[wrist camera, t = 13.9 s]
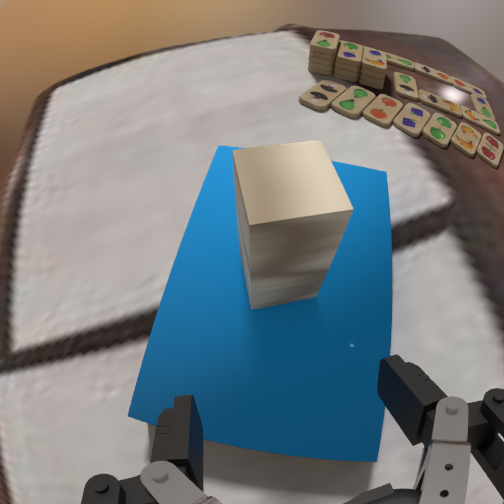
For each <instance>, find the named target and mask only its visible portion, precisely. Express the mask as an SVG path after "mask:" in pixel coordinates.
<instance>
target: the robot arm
mask: <svg viewBox="0 0 504 504" xmlns="http://www.w3.org/2000/svg"><path fill="white" fill-rule="evenodd" d="M377 390H378V394H379V397H380V399H381V400H382V402H383V403H384V405H385V406H386V408H387V409H388V410H389V412H390V413H391V415H392V416H393V418H394V419H395V421H396V422H397V423H398V425H399V426H400V428H401V429H402V431H403V432H404V434H405V435H406V437H407V438H408V439H409V441H410V442H411V444H412V445H413V446H414V445H416V444H419V443H421V442H422V443H423V444H424V448H423V451H422V456H421V460H420V465H419V469H418V473H417V477H416V481H415V484H414V487H413V489H393V488H392V486H391V484H390V483H389V484H386V485H383V486H381V487H378V488H375V489H372V490H369V491H366V492H364V493H362V494H360V495H358V496H357V497H355V498H353V499H351V500H349V501H348V502H346V503H344V504H464V503H465V497H466V490H467V483H468V474H469V464H470V453H472V455H473V456H474V458H475V459H476V460H477V462H478V463H479V465H480V466H481V467H482V469H483V470H484V472H485V473H486V475H487V476H488V477H489V479H490V480H491V482H492V483H493V485H494V486H495V488H496V489H497V491H498V492H499V494H500V495H501V497H502V498H503V500H504V442H503V440H502V439H501V438H500V437H499V436H498V433H500V434H501V435H502V437H503V438H504V390H503V389H499V388H496V389H491V390H489V391H487V392H486V393H485V395H484V398H483V400H482V401H477V402H472V403H466V402H465V401H464V400H463V399H461V398H458V397H448V396H447V395H446V394H445V393H444V392H443V391H442V390H441V389H440V388H439V387H438V386H437V385H436V384H435V383H434V382H433V381H432V380H430V378H429V376H428V375H427V374H425V372H424V371H423V370H422V369H421V368H420V367H419V366H417V365H415V364H413V363H411V362H407V363H405V362H404V361H403V359H402V358H401V357H400V356H399V355H393V356H389V357H386V358H383V359H381V360H380V364H379V374H378V383H377ZM155 435H156V436H155V438H154V444H153V450H152V457H151V462H150V464H149V465H147V466H146V467H145V468H144V469H143V470H142V472H141V474H140V475H138V476H136V477H133V478H128V479H124V480H120V481H118V480H117V479H116V478H115V477H114V476H112V475H109V474H98V475H95V476H93V477H92V478H90V479H89V480H88V481H87V483H86V485H85V488H84V492H83V497H82V501H81V504H222V503H221V502H220V501H219V500H217V499H216V498H215V497H213V496H210V497H208V496H207V495H206V494H204V493H203V427H202V422H201V418H200V415H199V412H198V409H197V405H196V402H195V398H194V396H193V395H182V396H175V398H174V405H173V408H169V409H164V410H163V411H162V413H161V414H160V415H159V417H158V421H157V428H156V432H155ZM503 504H504V501H503Z"/></svg>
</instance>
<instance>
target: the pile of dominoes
mask: <svg viewBox="0 0 504 504" xmlns="http://www.w3.org/2000/svg"><path fill="white" fill-rule="evenodd" d="M387 63H389V64H392V65H395V66H398V67H401V68H404V69H407V70H410V71H415V72H417V73H420V74H422V75H425V76H428V77H430V78H433V79H436V80H438V81H441V82H443V83H446V84H448V85H452V86H454V87H455V88H457V89H460V90H462V91H464V92H466V93H469V94H471V95H470V96H471V99H472V101H473V104H474V106H475V109H476V112H475V111H473V110H471V109H469V108H467V107H464V106H461V107H459V106H458V105H457V104H456V103H453V102H451V101H449V100H446V99H444V98H441V97H439V96H436V95H434V94H431V93H429V92H426V91H423V90H419V91H417V86H416V82H415V79H414V78H413V77H411V76H408V75H405V74H402V73H398V72H395V73H394V75H393V78H394V87H395V93H396V94H397V95H399V96H401V97H404V98H408V99H411V100H414V101H420V102H421V103H423V104H425V105H428V106H430V107H433V108H436V109H438V110H441V111H443V112H446V113H448V114H451V115H453V116H455V117H458V118H463V119H465V120H466V121H468V122H471V123H473V124H475V125H477V126H480V127H482V128H484V129H486V130H488V131H490V132H492V133H494V134H496V135H500V130H499V127H498V124H497V123H496V122H495V117H494V115H493V112H492V110H491V108H490V105H489V103H488V101H487V100H486V99H487V97H486V95H485V93H484V92H483V91H482V90H481V89H479V88H477V87H475V86H473V85H470V84H468V83H466V82H464V81H461V80H459V79H457V78H454V77H450V76H449V75H447V74H445V73H442V72H440V71H437V70H435V69H432V68H429V67H427V66H424V65H422V64H419V63H413V62H412V61H410V60H407V59H404V58H401V57H398V56H395V55H392V54H389V53H386V52H383V51H380V50H376V49H373V48H369V47H365V46H361V45H359V44H355V43H351V42H347V41H340V36H339V35H338V34H336V33H331V32H327V31H317V32H316V34H315V36H314V37H313V39H312V41H311V43H310V55H309V63H308V64H309V66H308V71H310V72H313V73H317V74H322V75H327V76H331V75H333V76H334V77H336V78H340V79H344V80H348V81H352V82H357V81H358V82H359V83H360V84H362V85H366V86H369V87H373V88H377V89H383V84H384V78H385V73H386V71H387ZM299 102H300V103H301V104H303V105H306V106H308V107H311V108H313V109H315V110H317V111H325V110H326V109H327V108H329V107H331V108H332V109H333V110H335V111H337V112H339V113H341V114H343V115H345V116H348V117H350V118H358V117H359V116H360V115H362V116H363V117H364V118H366V119H368V120H370V121H372V122H374V123H376V124H378V125H380V126H382V127H389V126H390V125H391V124H393V125H394V126H395V127H397V128H398V129H400V130H402V131H403V132H405V133H407V134H409V135H410V136H412V137H418V136H419V135H420V134H421V133H422V135H423V136H424V137H426V138H427V139H429V140H430V141H432V142H434V143H435V144H437V145H438V146H440V147H442V148H446V147H447V145H448V144H449V142H450V143H451V144H452V145H453V146H454V147H456V148H457V149H458V150H460V151H461V152H463V153H464V154H465V155H467V156H469V157H473V156H474V154H475V153H477V155H478V156H479V157H480V158H482V159H483V160H484V161H486V162H487V163H488V164H489V165H491V166H492V167H494V168H497V167H498V165H499V162H500V159H501V156H502V152H503V149H504V147H503V145H502V144H501V143H500V142H499V141H498V140H497V139H495V138H494V137H493V136H491V135H490V134H488V133H484V135H483V137H481V134H480V133H479V132H478V131H476V130H475V129H473V128H472V127H471V126H469V125H468V124H466V123H463V122H462V123H461V124H460V125H459V127H458V128H457V126H456V124H455V123H454V122H453V121H451V120H450V119H448V118H447V117H445V116H443V115H442V114H440V113H435V114H434V115H433V116H432V117H431V115H430V113H428V112H427V111H425V110H424V109H422V108H420V107H418V106H417V105H415V104H412V103H408V104H407V105H406V106H405V107H404V108H403V104H402V103H401V102H400V101H398V100H396V99H394V98H392V97H390V96H388V95H385V94H380V95H379V96H378V97H376V96H375V94H374V93H372V92H370V91H368V90H366V89H364V88H361V87H359V86H351V87H350V88H349V89H348V90H346V87H345V86H343V85H341V84H339V83H336V82H334V81H331V80H328V79H324V80H322V81H320V82H319V83H317V84H316V85H314V86H313V87H311V88H310V89H309V90H307V91H306V92H304V93H303V94H301V95H300V96H299Z"/></svg>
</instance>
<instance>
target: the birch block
mask: <svg viewBox="0 0 504 504" xmlns="http://www.w3.org/2000/svg"><path fill="white" fill-rule="evenodd" d="M232 154H233V169H234V183H235V197H236V210H237V224H238V237H239V250H240V256H241V261H242V266H243V271H244V276H245V281H246V286H247V291H248V295H249V300H250V305H251V310H253V309H258V308H263V307H269V306H274V305H279V304H284V303H289V302H294V301H299V300H304V299H309V298H314V297H317V295H318V292H319V290H320V288H321V286H322V283H323V281H324V279H325V277H326V274H327V272H328V270H329V267H330V265H331V263H332V260H333V258H334V256H335V253H336V251H337V249H338V246H339V244H340V241H341V239H342V237H343V234H344V232H345V229H346V227H347V224H348V222H349V219H350V217H351V214H352V212H353V207H352V205H351V203H350V200H349V198H348V196H347V194H346V191H345V189H344V187H343V185H342V183H341V181H340V179H339V177H338V174H337V172H336V170H335V168H334V166H333V164H332V162H331V160H330V158H329V156H328V154H327V152H326V150H325V148H324V146H323V144H322V142H321V140H318V141H306V142H296V143H286V144H277V145H268V146H260V147H252V148H244V149H237V150H232Z"/></svg>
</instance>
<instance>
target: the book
mask: <svg viewBox="0 0 504 504" xmlns="http://www.w3.org/2000/svg"><path fill="white" fill-rule="evenodd" d="M237 149H244V148H238V147H228V146H218V148H217V151H216V153H215V156H214V158H213V161H212V163H211V165H210V168H209V170H208V173H207V175H206V178H205V180H204V183H203V186H202V188H201V191H200V193H199V196H198V198H197V201H196V204H195V206H194V209H193V212H192V214H191V217H190V220H189V222H188V225H187V228H186V230H185V233H184V236H183V239H182V241H181V244H180V247H179V250H178V253H177V255H176V258H175V261H174V264H173V267H172V270H171V273H170V276H169V279H168V282H167V285H166V288H165V291H164V294H163V297H162V300H161V303H160V306H159V309H158V312H157V315H156V318H155V322H154V325H153V328H152V331H151V335H150V338H149V341H148V345H147V348H146V351H145V355H144V358H143V361H142V365H141V368H140V372H139V376H138V379H137V383H136V386H135V390H134V394H133V397H132V401H131V405H130V409H129V413H128V416H129V417H131V418H134V419H137V420H140V421H143V422H146V423H149V424H152V425H155V426H157V421H158V417H159V415H160V414H161V413H162V411H163V410H164V409H169V408H173V405H174V398H175V396H182V395H193V396H194V398H195V402H196V405H197V409H198V412H199V415H200V418H201V422H202V427H203V439H205V440H209V441H214V442H218V443H222V444H227V445H232V446H236V447H242V448H247V449H252V450H258V451H264V452H270V453H276V454H283V455H291V456H299V457H307V458H317V459H329V460H343V461H367V462H377V457H378V451H379V445H380V439H381V433H382V426H383V419H384V411H385V405H384V403H383V402H382V400H381V399H380V397H379V394H378V390H377V383H378V374H379V364H380V360H381V359H383V358H386V357H389V356H390V347H391V327H392V243H391V222H390V207H389V195H388V184H387V174H386V172H384V171H379V170H375V169H370V168H365V167H360V166H355V165H350V164H345V163H339V162H334V161H331V162H332V164H333V166H334V168H335V170H336V172H337V174H338V177H339V179H340V181H341V183H342V185H343V187H344V189H345V191H346V194H347V196H348V198H349V200H350V203H351V205H352V207H353V212H352V214H351V217H350V219H349V222H348V224H347V227H346V229H345V232H344V234H343V237H342V239H341V241H340V244H339V246H338V249H337V251H336V253H335V256H334V258H333V260H332V263H331V265H330V267H329V270H328V272H327V274H326V277H325V279H324V281H323V283H322V286H321V288H320V290H319V292H318V295H317V297H314V298H309V299H304V300H299V301H294V302H289V303H284V304H279V305H274V306H269V307H263V308H258V309H253V310H251V305H250V300H249V295H248V291H247V286H246V281H245V276H244V271H243V266H242V261H241V256H240V250H239V237H238V224H237V210H236V197H235V183H234V169H233V154H232V150H237Z"/></svg>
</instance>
